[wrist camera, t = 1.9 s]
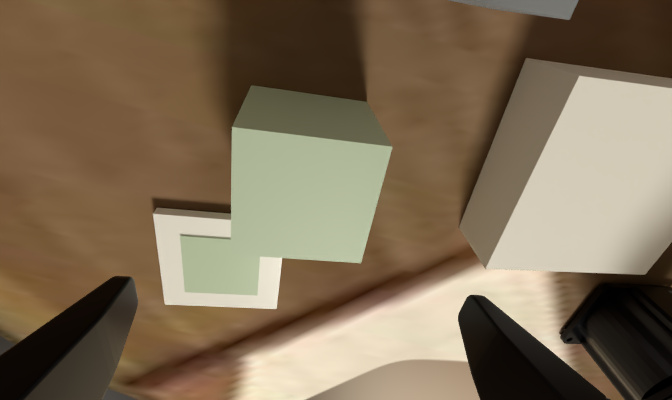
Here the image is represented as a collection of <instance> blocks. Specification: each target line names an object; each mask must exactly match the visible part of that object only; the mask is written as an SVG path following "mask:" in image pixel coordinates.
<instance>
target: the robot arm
mask: <svg viewBox="0 0 672 400" xmlns="http://www.w3.org/2000/svg"><path fill="white" fill-rule="evenodd" d="M137 306H138V297H137V292H136V287H135V282H134V279H133V278H132V277H127V276H114V277H112V278H110V279H109V280H108V281H106V282H105V283H103V284H102V285H100V286H99V287H98V288H96V289H95V290H93V291H92V292H90V293H89V294H87V295H86V296H85V297H83V298H82V299H80V300H79V301H77V302H76V303H75V304H73V305H72V306H70V307H69V308H67V309H66V310H65V311H63V312H62V313H60V314H59V315H57V316H56V317H55V318H53V319H52V320H50V321H49V322H47V323H46V324H45V325H43V326H42V327H40V328H39V329H37V330H36V331H35V332H33V333H32V334H30V335H29V336H27V337H26V338H25V339H23V340H22V341H20V342H19V343H17V344H16V345H15V346H13V347H12V348H10V349H9V350H7V351H6V352H4V353H3V354H2V355H0V400H102V399H103V397H104V395H105V393H106V390H107V388H108V386H109V384H110V382H111V380H112V378H113V375H114V373H115V371H116V368H117V365H118V363H119V360H120V357H121V354H122V351H123V348H124V345H125V342H126V339H127V336H128V333H129V330H130V328H131V325H132V322H133V319H134V316H135V313H136V310H137ZM458 322H459V326H460V330H461V334H462V339H463V343H464V347H465V351H466V355H467V359H468V363H469V367H470V371H471V374H472V377H473V380H474V383H475V386H476V388H477V392H478V394H479V397H480V400H610V399H609V398H606V396H605V395H604V394H603V393H601V392H600V391H599V390H598V389H597V388H595V387H594V386H593V385H592V384H590V383H589V382H588V381H587V380H586V379H584V378H583V377H582V376H581V375H580V374H578V373H577V372H576V371H575V370H573V369H572V368H571V367H570V366H569V365H567V364H566V363H565V362H564V361H562V360H561V359H560V358H559V357H558V356H556V355H555V354H554V353H553V352H552V351H550V350H549V349H548V348H547V347H545V346H544V345H543V344H542V343H541V342H539V341H538V340H537V339H536V338H535V337H533V336H532V335H531V334H530V333H528V332H527V331H526V330H525V329H524V328H522V327H521V326H520V325H519V324H517V323H516V322H515V321H514V320H513V319H511V318H510V317H509V316H508V315H507V314H505V313H504V312H503V311H502V310H500V309H499V308H498V307H497V306H496V305H494V304H493V303H492V302H491V301H489V300H488V299H487V298H486V297H484V296H481V295H470V296H468V297H467V299H466V301H465V302H464V304H463V306H462V308H461V310H460V312H459V315H458ZM560 338H561V340H562V341H563V342H564V343H566V344H582V346H583V347H584V348H585V349H586V351H587V352H588V353H589V355H590V356H591V357H592V358H593V360H594V361H595V362H596V364H597V365H598V366H599V367H600V369H601V370H602V371H603V373H604V374H605V375H606V376H607V378H608V379H609V380H610V382H611V383H612V384H613V385H614V387H615V388H616V389H617V391H618V392H619V393H620V394H621V396H622V397H623V398H624V399H625V400H672V287H662V286H646V285H630V284H614V283H605V284H602V285H601V286H599V287H598V289H597V290H596V291H595V292H594V294H593V295H592V296H591V298H590V299H589V300H588V301H587V303H586V304H585V305H584V307H583V308H582V309H581V310H580V312H579V313H578V314H577V315H576V317H575V318H574V319H573V321H572V322H571V323H570V324H569V326H568V327H567V328H566V330H565V331H564V332H563V333H562V335H561V336H560Z"/></svg>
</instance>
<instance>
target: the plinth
mask: <svg viewBox="0 0 672 400" xmlns="http://www.w3.org/2000/svg"><path fill="white" fill-rule="evenodd" d="M459 229H460V230H461V232H462V233H463V235H464V237H465V238H466V240H467V241H468V243H469V244H470V246H471V247H472V249H473V250H474V252H475V253H476V255H477V256H478V258H479V260H480V261H481V263H482V264H483V266H484V267H485V269H505V270H532V271H558V272H585V273H611V274H638V275H645V274H646V273H647V272H648V271H649V269H650V268H651V267H652V266H653V264H654V263H655V262H656V261H657V260H658V258H659V257H660V256H661V255H662V254H663V252H664V251H665V250H666V249H667V247H668V246H669V245H670V244H671V243H672V78H665V77H658V76H651V75H644V74H637V73H630V72H623V71H615V70H608V69H601V68H594V67H587V66H580V65H573V64H566V63H558V62H551V61H544V60H537V59H530V58H526V59H525V62H524V64H523V67H522V69H521V72H520V74H519V77H518V79H517V82H516V85H515V87H514V90H513V92H512V95H511V97H510V100H509V102H508V105H507V107H506V110H505V112H504V115H503V117H502V120H501V122H500V125H499V127H498V130H497V132H496V135H495V137H494V140H493V142H492V145H491V147H490V150H489V152H488V155H487V158H486V160H485V163H484V165H483V168H482V170H481V173H480V175H479V178H478V180H477V183H476V185H475V188H474V190H473V193H472V195H471V198H470V200H469V203H468V205H467V208H466V210H465V213H464V215H463V218H462V220H461V223H460V225H459Z"/></svg>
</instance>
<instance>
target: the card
mask: <svg viewBox="0 0 672 400" xmlns="http://www.w3.org/2000/svg"><path fill="white" fill-rule="evenodd" d="M153 218H154V225H155V233H156V240H157V248H158V256H159V263H160V271H161V278H162V286H163V293H164V301H165V304H166V305H191V306H216V307H240V308H265V309H277V300H278V291H279V282H280V273H281V264H282V258H276V257H260V256H245V255H231V214H228V213H216V212H204V211H192V210H180V209H168V208H156V210H155V211H154V213H153Z"/></svg>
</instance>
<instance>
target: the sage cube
mask: <svg viewBox="0 0 672 400" xmlns="http://www.w3.org/2000/svg"><path fill="white" fill-rule="evenodd" d="M391 150H392V145H391V143H390V142H389V140H388V138H387V136H386V134H385V133H384V131H383V129H382V127H381V126H380V124H379V122H378V120H377V118H376V117H375V115H374V113H373V111H372V110H371V108H370V106H369V104H368V102H365V101H358V100H351V99H344V98H337V97H330V96H323V95H316V94H309V93H302V92H295V91H289V90H282V89H275V88H268V87H261V86H254V85H251V87H250V89H249V91H248V94H247V96H246V98H245V100H244V102H243V104H242V106H241V109H240V111H239V113H238V115H237V117H236V119H235V121H234V124H233V126H232V171H231V255H245V256H260V257H276V258H291V259H306V260H322V261H337V262H352V263H361V261H362V257H363V254H364V250H365V246H366V243H367V239H368V235H369V232H370V228H371V224H372V221H373V217H374V213H375V209H376V206H377V202H378V198H379V195H380V191H381V187H382V184H383V180H384V176H385V173H386V169H387V165H388V161H389V158H390V154H391Z"/></svg>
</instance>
